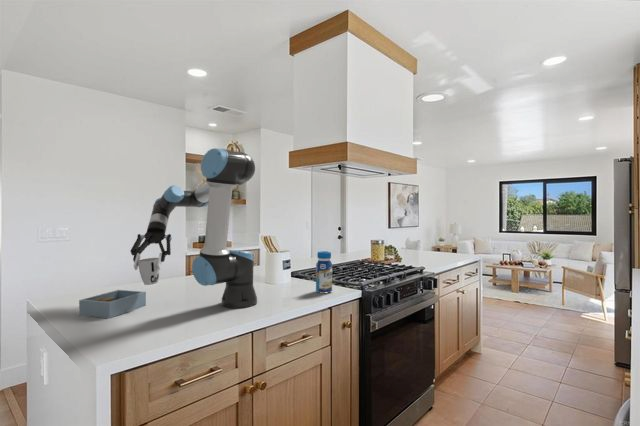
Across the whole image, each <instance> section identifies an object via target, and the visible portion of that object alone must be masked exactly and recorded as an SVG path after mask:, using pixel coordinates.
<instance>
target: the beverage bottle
mask: <svg viewBox="0 0 640 426" xmlns="http://www.w3.org/2000/svg"><path fill="white" fill-rule="evenodd" d="M316 257H317V259H318V260H317V262H316V264H315V267H316V269H315V292H316V293H317V292H321V293H320V294H323V293H325V292H331V291H332V292H333V271H334V270H333V263H332V261H331V258H332V252H331V251H324V250H323V251H321V250H320V251H317V256H316ZM332 292H331V293H332Z"/></svg>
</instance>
